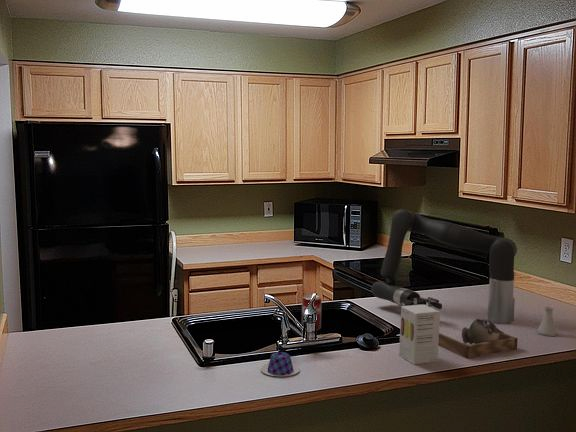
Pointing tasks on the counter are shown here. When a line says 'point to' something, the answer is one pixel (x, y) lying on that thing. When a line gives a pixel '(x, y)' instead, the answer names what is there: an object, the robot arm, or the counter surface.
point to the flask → (547, 323)
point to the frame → (479, 346)
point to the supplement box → (419, 334)
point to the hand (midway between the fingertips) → (432, 307)
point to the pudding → (280, 365)
